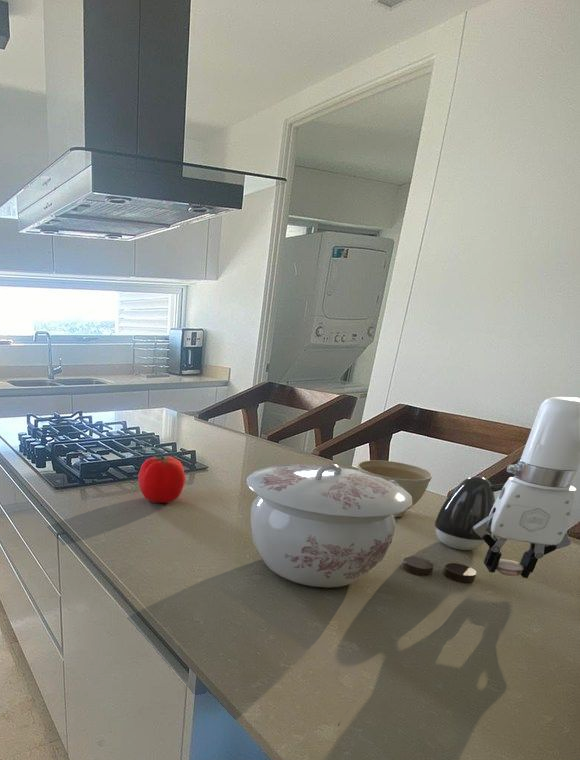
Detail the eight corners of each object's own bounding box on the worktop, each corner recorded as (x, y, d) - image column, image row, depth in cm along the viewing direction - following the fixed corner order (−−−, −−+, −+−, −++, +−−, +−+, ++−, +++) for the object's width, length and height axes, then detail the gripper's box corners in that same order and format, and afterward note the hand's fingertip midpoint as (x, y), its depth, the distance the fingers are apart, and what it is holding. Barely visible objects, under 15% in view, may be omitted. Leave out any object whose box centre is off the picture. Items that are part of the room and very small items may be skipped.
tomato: (127, 501, 125) (128, 457, 120) (155, 488, 135) (156, 447, 130) (168, 511, 118) (170, 466, 114) (194, 497, 129) (197, 454, 124)
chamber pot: (223, 588, 85) (236, 475, 77) (248, 531, 109) (260, 439, 100) (400, 624, 76) (437, 500, 68) (386, 553, 100) (412, 454, 91)
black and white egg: (493, 559, 98) (520, 487, 92) (435, 551, 101) (457, 481, 95) (478, 539, 107) (501, 472, 100) (425, 532, 110) (444, 467, 103)
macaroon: (502, 578, 86) (507, 566, 85) (482, 565, 90) (487, 553, 89) (525, 578, 86) (531, 566, 85) (504, 565, 90) (509, 553, 89)
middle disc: (470, 572, 92) (472, 565, 92) (477, 585, 88) (479, 577, 88) (440, 568, 94) (442, 561, 93) (445, 579, 90) (448, 572, 89)
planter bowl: (394, 528, 112) (406, 483, 107) (335, 506, 124) (344, 465, 120) (434, 516, 119) (446, 473, 115) (374, 496, 132) (384, 457, 127)
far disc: (429, 566, 95) (431, 559, 94) (433, 577, 90) (435, 570, 90) (400, 561, 96) (402, 554, 96) (403, 572, 92) (405, 565, 91)
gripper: (491, 474, 80) (457, 572, 87) (619, 488, 75) (571, 591, 82) (479, 463, 86) (448, 555, 94) (596, 475, 81) (553, 571, 89)
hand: (506, 570), depth 88 cm, fingers closed on macaroon, 4 cm apart
